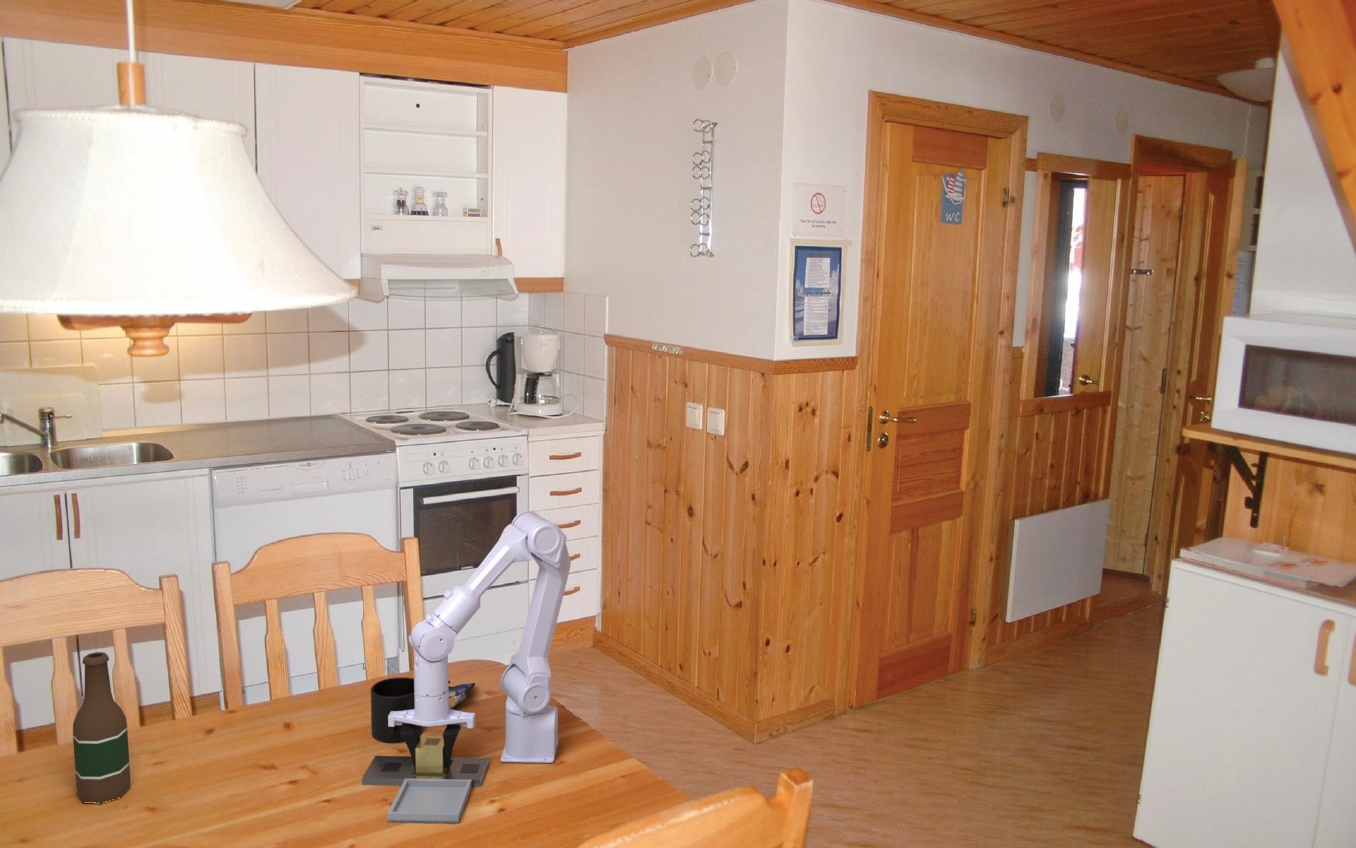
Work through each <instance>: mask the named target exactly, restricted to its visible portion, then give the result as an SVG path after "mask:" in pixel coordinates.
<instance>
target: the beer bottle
mask: <svg viewBox="0 0 1356 848" xmlns="http://www.w3.org/2000/svg"><path fill="white" fill-rule="evenodd" d="M109 661H110V658H109V655H108V653H106V652H104V651H99V652H98V651H97V652H90V653H88V654H87V655H85V656H84V657H83V658H82V664H83V665H84V697H83V704H82V705H81V707H80V708H79V710H78V711H77V713H76V714H75V718H74V721H73V723H72V742H73V757H74V759H73V760H74V771H75V783H76V784H75V785H76V792H77V797H78V796H79V797H80V798H79V799H80V800H81V802H82V801H83V802H96V803H98V802H99V803H103V802H105V801H109V800H112V799H116V798H118V797H121V796H122V795H123V794H124V793H125V792H126V791H127V790H128V789H129V788H130V789H131V770H130V769H131V767H130V754H129V753H130V751H129V736H128V735H129V733H128V732H129V731H128V723H127V717H126V715H125V713H124V711H123V709H122V708H121V707H120V706H119V704H118V703H117V702H116V701H115V699H114V697H113V693H112V688H111V681H110V680H111V679H110V674H109V673H110V671H109V666H108V665H109V664H108V662H109ZM130 789H129V790H130ZM129 790H128V791H129ZM128 791H127V792H128ZM127 792H126V793H127ZM126 793H125V794H126ZM125 794H124V795H125ZM124 795H123V796H124ZM123 796H122V797H123ZM122 797H121V798H122ZM83 802H82V803H83Z"/></svg>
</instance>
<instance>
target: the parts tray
mask: <svg viewBox="0 0 1356 848" xmlns="http://www.w3.org/2000/svg"><path fill="white" fill-rule="evenodd" d="M472 788H473V787H472V780H459V779H408V778H405V780H404V782H403V784H402V785H400V788H399V789H398V792H397V793H396V796H395V798H394V799H393V802H392V803H391V805H390V807H389V809H388V811H387V816H386V817H387V818H386V819H387V820H386V821H387V823H401V824H402V823H404V824H406V823H407V824H408V823H409V824H449V825H450V824H452V825H453V824H457V825H458V824H459V822H460V820H461V818H462V815H463V812H464V809H465V807H466V804H467V801H468V799H469V796H470V793H471V790H472Z"/></svg>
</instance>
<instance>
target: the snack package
mask: <svg viewBox="0 0 1356 848" xmlns="http://www.w3.org/2000/svg"><path fill="white" fill-rule="evenodd" d="M448 684H451V681H450V680H449V679H448ZM475 686H476V683H475V682H473V683H470V682H469V683H460V684H458V685H457V684H456V685H454V686H450V685H449V695H451V696H449V698H452V699H454V698H453V697H455V696H456V698H457V699H456V700H457V701H456V702H454V703H453V704H452V705H453V706H452V705H451V706H450V707H449V709H451V710H453V708H455V707H456V706H457V705H459V704H460V703H462V702H463V701H465V700H466V699H467V697H468V696H469V694H470V693H471V691H472V689H475ZM452 695H453V696H452Z"/></svg>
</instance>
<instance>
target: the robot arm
mask: <svg viewBox="0 0 1356 848" xmlns="http://www.w3.org/2000/svg"><path fill="white" fill-rule="evenodd" d="M566 541H567V535H566V534H565V532H563V530H562V529H561V528H560V526H558V525H557V524H556V523H555V522H552V521H551V520H550V521H549V520H548V519H546V518H544V517H542V516H541V515H540V514H539V513H537V512H535V511H533V510H526V511H522V512H520V513H518V514H517V515H516V516H514V518H513V520H512V521H511V523H509V524H508V525H507V526H506V527H504V529H503V531H502V533H501V535H500V537H499V539H498V541H497V542H496V543H495V544H494V546H493V547H492V548H491V550H490V551H489V553H488V554H487V555H486V557H485V558H484V559H483V560H482V562H481V563H480V564H479V566H478V567H477V568H476V569H475V570H474V572H473V574H472V575H471V576H470V577H469V578H468V580H467V581H466V583H463V584H460V585H455V586H453V588H452V589H451V590H450V589H447V590H446V591H445V592H444V593H443V597H444V598H443V599H442V600H441V601H440V602H439V604H438V605H437V606H436V607H435V608H434V610H433V611H432V612H431V613H428V614H427V615H426V616H425V617H424V620H423V621H419V622H418V623H416V625H414V626H413V628H412V630H411V634H410V635H408V642H409V644H410V645H411V647H412V648H413V649H414V651H413V652H414V653H413V654H414V656H413V657H414V658H413V660H414V663H413V677H414V678H413V679H414V699H415V709H413V710H405V711H391V712H390V714H389V716H388V726H389V727H394V726H395V725H402V730H401V732H400V734H401V737H402V739H403V740H404V741H405V742H404V743H405V745H406V746H407V749H408V751H409V753H410V756H411V757H412V760H413V764H414V767H416V746H417V744H418V742H419V740H420V738H421V734H420V732H421V726H423V727H426V728H427V727H438V726H439V727H445V728H444V730H443V732H442V736H443V740H444V768H448V767H449V768H450V766H449V765H450V763H451V757H452V754H453V751H454V746H455V745H456V741H457V738H458V735H459V733H460V731H461V730H462V727H466V728H467V729H474V727H475V724H476V713H475V712H468V711H467V712H466V711H462V710H455V709H449V708H450V707H449V705H450V704H449V703H450V702H449V700H450V699H449V686H450V685H449V684H450V683H449V684H448V680H449V655H450V654H452V652H453V648H454V645H455V641H454V640H455V639H456V638H457V635H458V634H459V633H460V632H461V630H463V628H464V627H465V626H466V625H467V623H468V622H469V621H470V620H471V619H472V618H473V617H474V615H475V614H477V611H479V609H481V599H482V598H481V596H482V595H484V594H485V592H487V590H488V589H489V588H490V587H492V585H494V583H495V582H496V581H497V580H498V579H499V578H500V577H501V576H502V575H503V573H504V572H505V571H506V570H507V569H509V567H510V566H511V565H513V564H515V563H520V562H530V561H532V560H533V559H534V561H535V563H536V564H537V565H538V572H537V576H536V580H535V582H534V583H535V585H534V588H533V593H532V596H531V601H530V604H529V609H528V612H527V616H526V621H525V625H524V629H523V633H522V637H521V641H520V645H519V649H518V651H517V652H515V653H514V654H513V655H512V656H511V658H510V661H509V664H508V666H507V667H506V669H505V670H504V671H503V672H502V675H501V678H500V687H501V689H502V691H503V692H504V693H505V694H506V701H505V744H504V748H503V750H502V754H501V756H500V762H501V763H539V764H540V763H541V764H551V763H554V762H555V758H556V754H557V753H556V752H557V751H558V750H557V748H558V746H559V736H558V735H559V734H558V732H559V731H558V729H559V728H558V727H559V724H558V723H559V711H558V706H555V705H549V704H550V701H551V699H552V688H551V679H552V670H551V667H550V663H549V655H550V650H551V647H552V643H553V639H554V635H555V631H556V627H557V623H558V619H559V614H560V611H561V606H562V602H563V599H564V594H565V591H566V588H567V587H566V586H567V581H568V579H569V575H570V574H569V573H570V570H571V564H572V562H571V558H570V554H569V551H568V547H567V543H566ZM449 768H448V769H449Z"/></svg>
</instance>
